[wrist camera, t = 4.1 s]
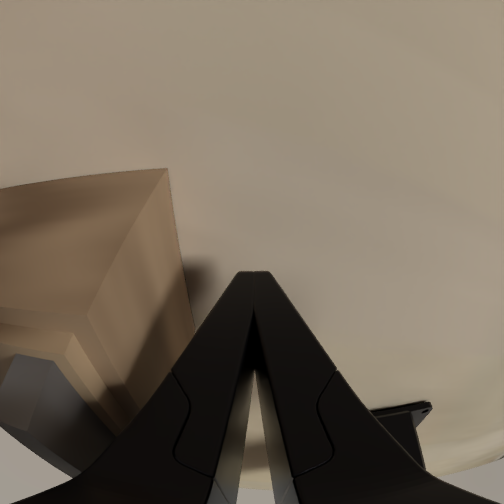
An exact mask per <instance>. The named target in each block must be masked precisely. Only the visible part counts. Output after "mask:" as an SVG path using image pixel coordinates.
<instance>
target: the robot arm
mask: <svg viewBox="0 0 504 504" xmlns="http://www.w3.org/2000/svg"><path fill="white" fill-rule="evenodd" d="M336 370H337V367H336V366H335V364H334V363H333V362H332V360H331V359H330V357H329V356H328V354H327V353H326V352H325V350H324V349H323V347H322V346H321V344H320V343H319V341H318V340H317V339H316V337H315V336H314V334H313V333H312V331H311V330H310V329H309V327H308V326H307V324H306V323H305V321H304V320H303V318H302V317H301V316H300V314H299V313H298V311H297V310H296V308H295V307H294V306H293V304H292V303H291V301H290V300H289V298H288V297H287V296H286V294H285V293H284V291H283V290H282V288H281V287H280V285H279V284H278V283H277V281H276V280H275V278H274V277H273V275H272V274H271V273H270V272H269V271H254V272H253V271H240V272H238V273H237V274H236V275H235V277H234V278H233V280H232V281H231V282H230V284H229V285H228V287H227V288H226V290H225V291H224V293H223V294H222V296H221V297H220V298H219V300H218V301H217V303H216V304H215V306H214V307H213V309H212V310H211V311H210V313H209V314H208V316H207V317H206V319H205V320H204V322H203V323H202V325H201V326H200V327H199V329H198V330H197V332H196V333H195V335H194V336H193V338H192V339H191V341H190V342H189V343H188V345H187V346H186V348H185V349H184V351H183V352H182V354H181V355H180V357H179V358H178V359H177V361H176V362H175V364H174V365H173V367H172V368H171V372H168V374H167V375H166V377H165V378H164V380H163V381H162V382H161V384H160V385H159V387H158V388H157V389H156V391H155V392H154V393H153V395H152V396H151V398H150V399H149V400H148V402H147V403H146V404H145V405H144V406H143V408H142V409H141V410H140V411H139V412H138V413H137V415H136V416H135V417H134V418H133V419H132V421H131V422H130V423H129V424H128V425H127V426H126V427H125V428H124V429H123V430H122V432H121V433H120V434H119V435H118V436H117V437H116V438H115V439H114V440H113V441H112V443H111V444H110V445H109V446H108V447H107V448H106V449H105V450H104V451H103V452H102V453H101V454H100V456H99V457H98V458H97V459H96V460H95V461H94V462H93V463H92V464H91V465H90V466H89V467H88V468H87V469H85V470H84V471H83V472H82V473H80V474H79V475H77V476H76V477H74V478H73V479H71V480H69V481H67V482H65V483H63V484H60V485H58V486H56V487H53V488H51V489H48V490H46V491H44V492H41V493H38V494H36V495H33V496H31V497H28V498H25V499H22V500H20V501H17V502H14V503H11V504H236V501H237V494H238V487H239V481H240V474H241V467H242V460H243V453H244V446H245V439H246V431H247V424H248V417H249V409H250V402H251V394H252V387H253V379H254V372H255V374H256V381H257V387H258V394H259V401H260V408H261V414H262V421H263V428H264V434H265V441H266V448H267V454H268V461H269V467H270V473H271V480H272V486H273V492H274V499H275V504H500V503H498V502H494V501H492V500H489V499H486V498H484V497H481V496H478V495H476V494H473V493H471V492H468V491H466V490H463V489H461V488H458V487H456V486H454V485H451V484H449V483H447V482H444V481H442V480H440V479H438V478H436V477H435V476H433V475H432V474H430V473H429V472H427V471H426V468H425V463H424V459H423V455H422V451H421V447H420V443H419V439H418V435H417V431H416V427H417V426H418V425H419V424H420V423H421V422H422V420H423V419H424V418H425V417H426V416H427V415H428V414H429V413H430V411H431V410H432V409H433V408H432V405H431V402H425V403H421V404H416V405H411V406H407V407H401V408H396V409H391V410H385V411H379V412H373V413H371V412H370V411H369V410H368V409H367V408H366V406H365V405H364V404H363V403H362V402H361V400H360V399H359V398H358V396H357V395H356V394H355V392H354V391H353V390H352V388H351V387H350V386H349V384H348V383H347V382H346V380H345V379H344V377H343V376H342V374H341V373H340V371H338V370H337V371H336Z"/></svg>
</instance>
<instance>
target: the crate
mask: <svg viewBox="0 0 504 504" xmlns="http://www.w3.org/2000/svg"><path fill="white" fill-rule="evenodd" d="M194 332H195V327H194V322H193V317H192V312H191V307H190V302H189V297H188V292H187V287H186V282H185V277H184V271H183V266H182V260H181V254H180V249H179V243H178V237H177V231H176V225H175V218H174V212H173V205H172V198H171V191H170V184H169V177H168V169H167V168H164V169H150V170H138V171H126V172H116V173H106V174H97V175H89V176H80V177H73V178H65V179H58V180H51V181H44V182H38V183H32V184H26V185H20V186H14V187H9V188H3V189H0V427H2V428H3V429H4V430H5V431H6V432H8V433H9V434H10V435H11V436H13V437H14V438H15V439H17V440H18V441H19V442H20V443H22V444H23V445H24V446H26V447H27V448H28V449H30V450H31V451H32V452H34V453H35V454H37V455H38V456H39V457H41V458H42V459H44V460H45V461H47V462H48V463H50V464H51V465H53V466H54V467H56V468H58V469H59V470H61V471H62V472H64V473H65V474H67V475H69V476H70V477H72V478H74V477H76V476H77V475H79V474H80V473H82V472H83V471H84V470H85V469H87V468H88V467H89V466H90V465H91V464H92V463H93V462H94V461H95V460H96V459H97V458H98V457H99V456H100V454H101V453H102V452H103V451H104V450H105V449H106V448H107V447H108V446H109V445H110V444H111V443H112V441H113V440H114V439H115V438H116V437H117V436H118V435H119V434H120V433H121V432H122V430H123V429H124V428H125V427H126V426H127V425H128V424H129V423H130V422H131V421H132V419H133V418H134V417H135V416H136V415H137V413H138V412H139V411H140V410H141V409H142V408H143V406H144V405H145V404H146V403H147V402H148V400H149V399H150V398H151V396H152V395H153V393H154V392H155V391H156V389H157V388H158V387H159V385H160V384H161V382H162V381H163V380H164V378H165V377H166V375H167V374H168V372H171V368H172V367H173V365H174V364H175V362H176V361H177V359H178V358H179V357H180V355H181V354H182V352H183V351H184V349H185V348H186V346H187V345H188V343H189V342H190V341H191V339H192V338H193V336H194Z"/></svg>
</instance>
